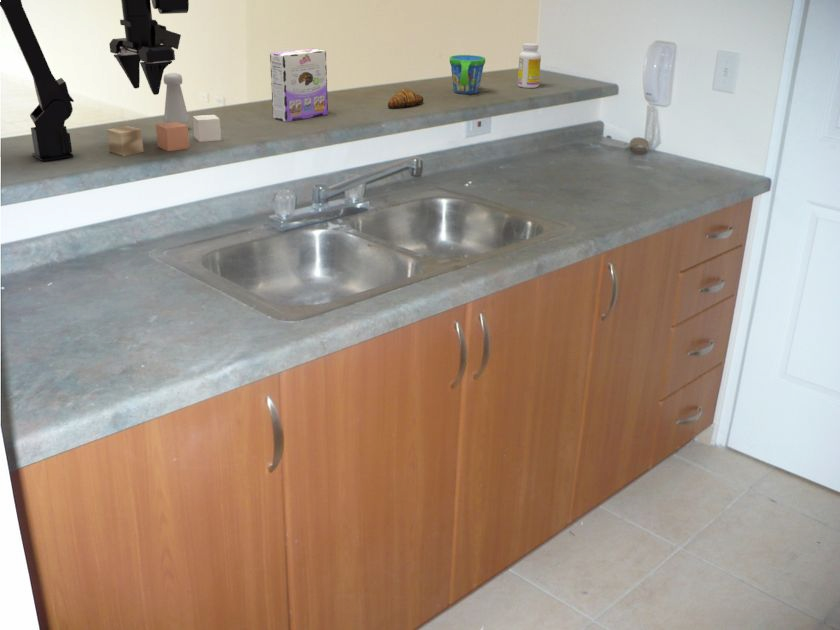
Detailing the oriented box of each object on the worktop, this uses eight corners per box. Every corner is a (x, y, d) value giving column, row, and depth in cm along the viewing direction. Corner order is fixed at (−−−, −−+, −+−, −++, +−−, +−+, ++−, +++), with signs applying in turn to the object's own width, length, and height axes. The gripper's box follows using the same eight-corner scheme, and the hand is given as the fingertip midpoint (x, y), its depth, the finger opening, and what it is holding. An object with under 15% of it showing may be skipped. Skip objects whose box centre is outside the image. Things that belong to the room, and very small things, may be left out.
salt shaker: (175, 133, 208) (169, 76, 203) (159, 129, 211) (154, 73, 206) (194, 129, 212) (190, 73, 207) (179, 125, 215) (174, 70, 210)
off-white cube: (199, 142, 200) (197, 120, 198) (194, 137, 204) (192, 116, 202) (221, 140, 202) (219, 118, 200) (215, 136, 206) (214, 114, 204)
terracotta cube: (168, 151, 192) (166, 128, 190) (158, 147, 195) (155, 124, 193) (189, 148, 195) (187, 125, 193) (178, 144, 198) (176, 121, 196)
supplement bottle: (542, 86, 277) (545, 44, 271) (533, 89, 271) (536, 46, 266) (523, 84, 280) (525, 42, 275) (513, 87, 275) (516, 44, 269)
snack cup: (478, 98, 256) (480, 62, 252) (443, 95, 259) (444, 60, 255) (488, 89, 270) (489, 54, 266) (454, 87, 273) (455, 53, 268)
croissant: (412, 101, 251) (412, 84, 249) (430, 105, 247) (431, 87, 245) (379, 108, 242) (379, 89, 240) (398, 111, 238) (398, 93, 236)
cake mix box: (314, 111, 234) (312, 47, 227) (328, 115, 230) (327, 50, 223) (271, 118, 225) (268, 51, 218) (285, 122, 221) (283, 54, 214)
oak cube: (123, 156, 187) (120, 133, 185) (110, 152, 190) (107, 129, 188) (143, 152, 191) (141, 129, 189) (130, 148, 194) (127, 125, 192)
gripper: (194, 16, 181) (201, 93, 188) (153, 9, 194) (160, 81, 200) (143, 19, 175) (152, 99, 181) (104, 11, 187) (113, 86, 194)
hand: (146, 91), depth 189 cm, fingers open, 9 cm apart
